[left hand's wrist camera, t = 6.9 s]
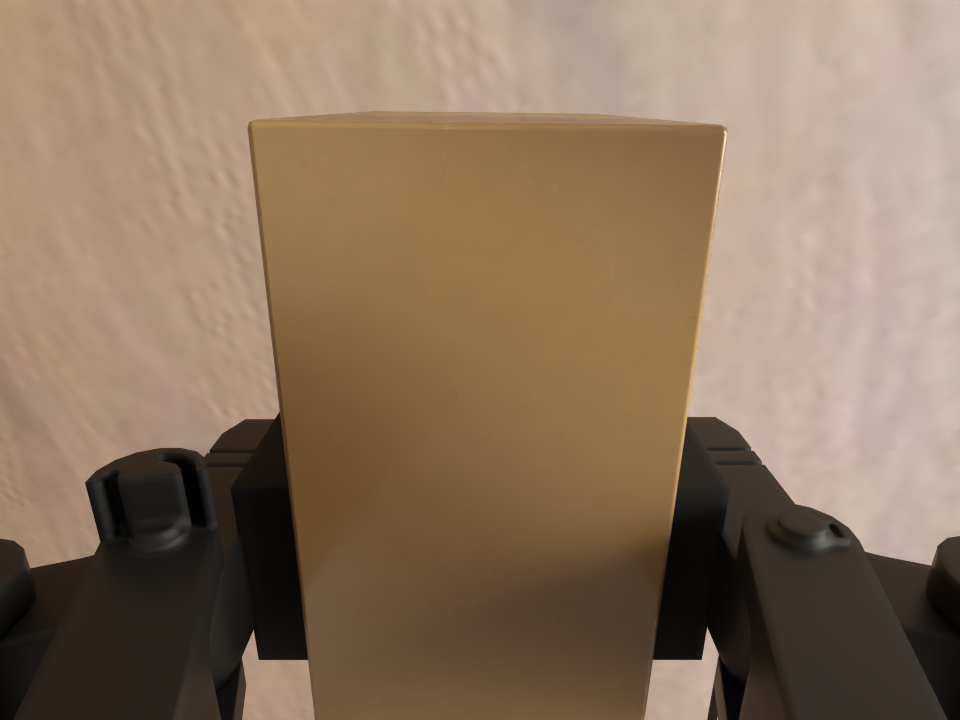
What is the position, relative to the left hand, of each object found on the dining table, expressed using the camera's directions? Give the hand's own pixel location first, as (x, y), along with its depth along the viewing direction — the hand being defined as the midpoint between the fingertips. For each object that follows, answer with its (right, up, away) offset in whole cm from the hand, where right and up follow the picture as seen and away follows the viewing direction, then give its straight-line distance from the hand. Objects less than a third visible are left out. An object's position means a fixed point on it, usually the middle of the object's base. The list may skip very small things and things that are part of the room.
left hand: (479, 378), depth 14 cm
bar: (0, -19, +8) cm, 21 cm away
